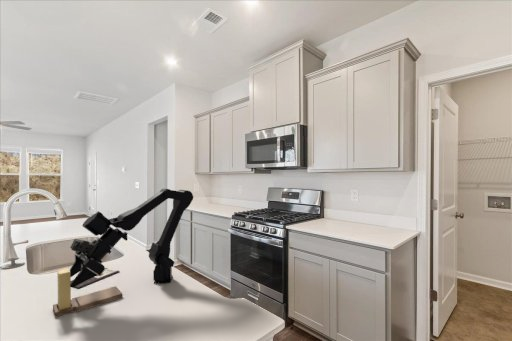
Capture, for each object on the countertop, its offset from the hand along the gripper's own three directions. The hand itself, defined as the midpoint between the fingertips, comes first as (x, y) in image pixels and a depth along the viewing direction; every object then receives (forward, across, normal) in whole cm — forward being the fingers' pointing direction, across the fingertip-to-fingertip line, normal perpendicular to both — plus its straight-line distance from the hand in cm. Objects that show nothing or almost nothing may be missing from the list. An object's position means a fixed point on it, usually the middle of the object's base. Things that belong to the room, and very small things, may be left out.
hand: (68, 282), depth 88 cm
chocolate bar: (-2, -23, +15) cm, 27 cm away
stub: (+7, 0, +6) cm, 9 cm away
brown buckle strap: (+2, 0, +10) cm, 11 cm away
